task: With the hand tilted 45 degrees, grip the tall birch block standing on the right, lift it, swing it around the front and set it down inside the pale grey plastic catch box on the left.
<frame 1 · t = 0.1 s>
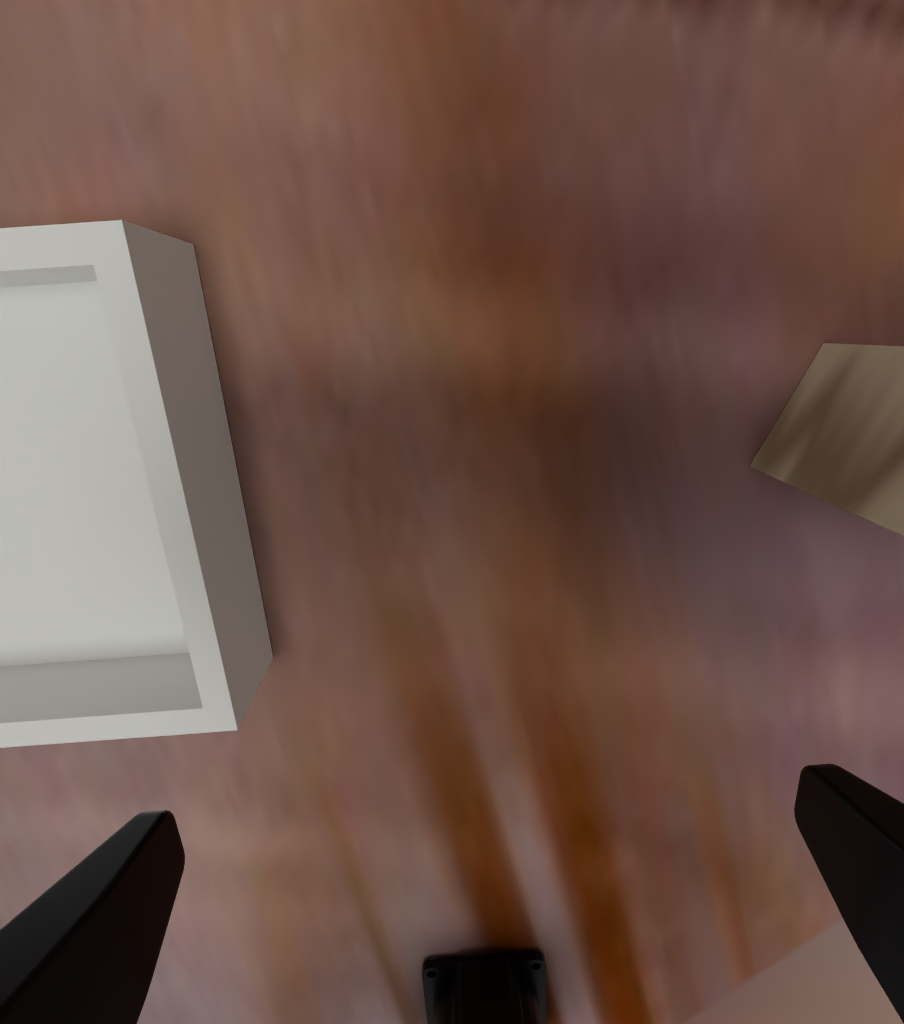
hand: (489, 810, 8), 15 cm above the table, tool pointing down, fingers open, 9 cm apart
birch block: (839, 432, 21), on the table
catch box: (27, 490, 21), on the table
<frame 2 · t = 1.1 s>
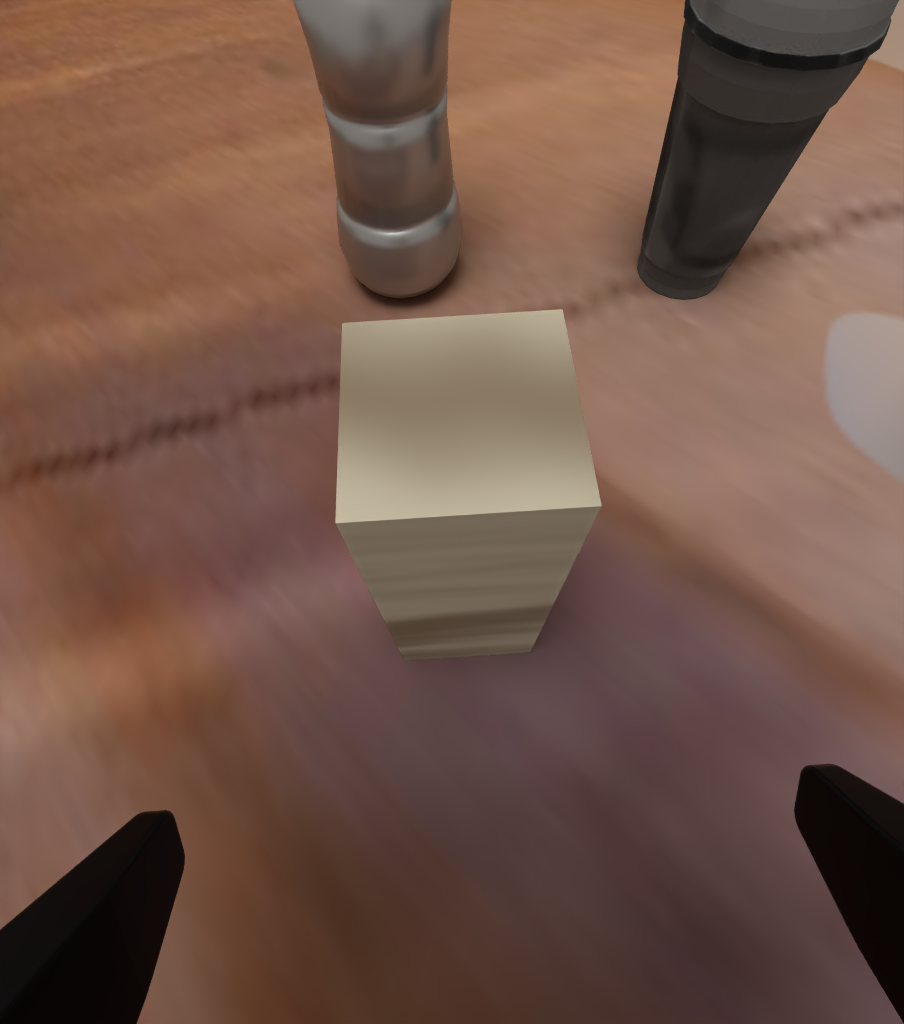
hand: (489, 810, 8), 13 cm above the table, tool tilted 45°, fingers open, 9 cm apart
plastic bottle: (405, 273, 32), on the table
beverage cup: (677, 272, 31), on the table
birch block: (463, 595, 23), on the table
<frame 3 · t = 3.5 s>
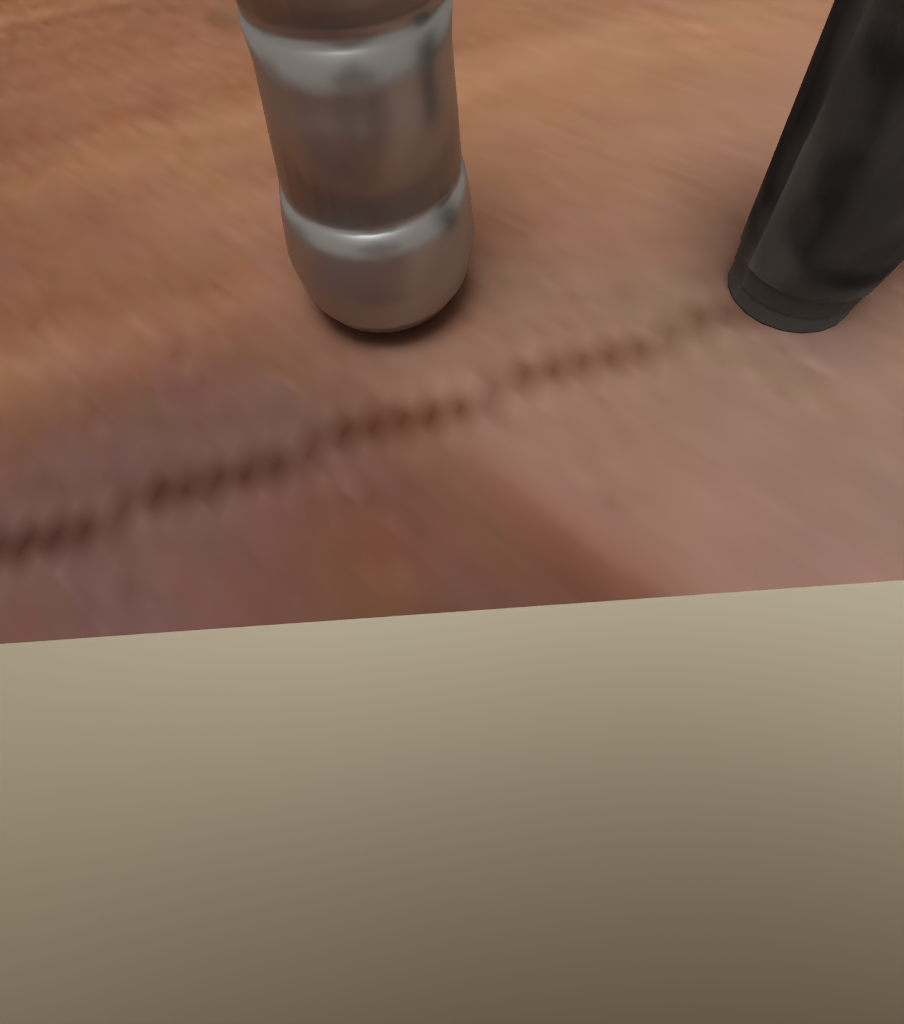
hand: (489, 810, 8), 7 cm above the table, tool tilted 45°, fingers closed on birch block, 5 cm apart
plastic bottle: (390, 294, 22), on the table
beverage cup: (785, 292, 22), on the table
birch block: (483, 867, 13), on the table, touching gripper
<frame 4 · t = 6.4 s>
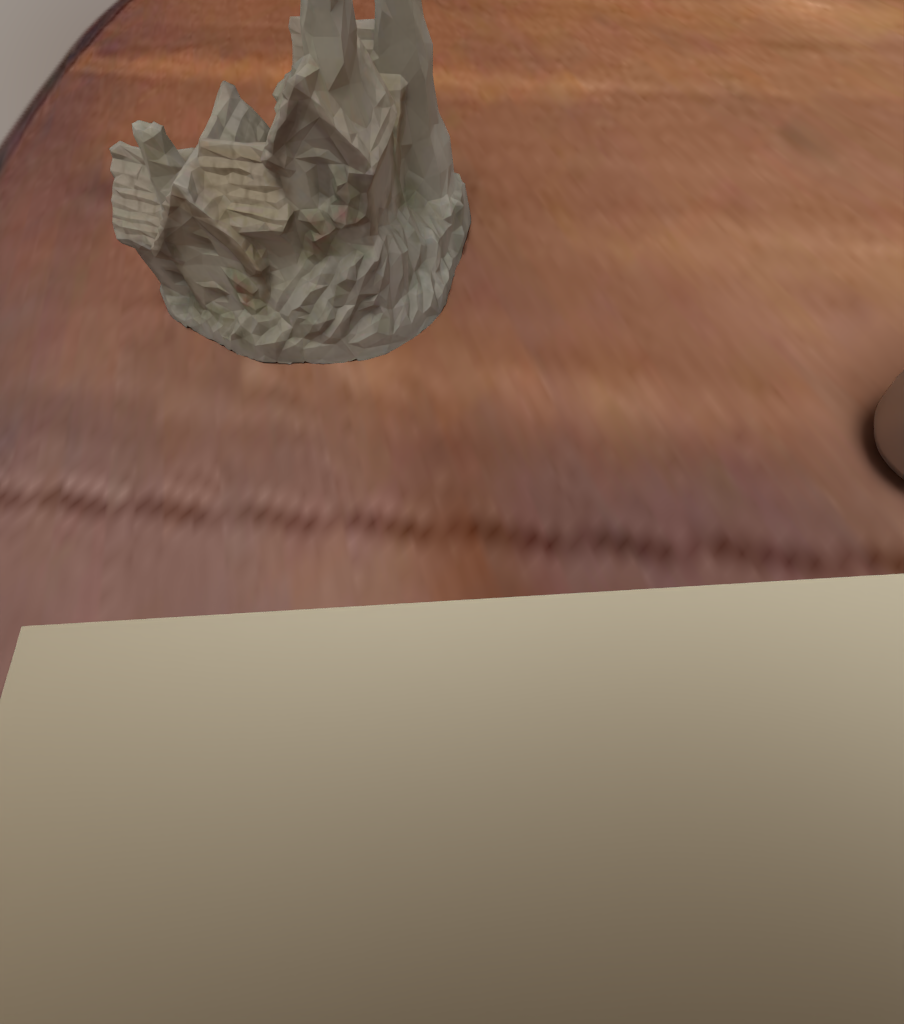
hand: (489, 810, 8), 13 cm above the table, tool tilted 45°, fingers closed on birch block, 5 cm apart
ceramic cottage: (328, 261, 33), on the table
birch block: (487, 864, 13), point 7 cm above the table, touching gripper
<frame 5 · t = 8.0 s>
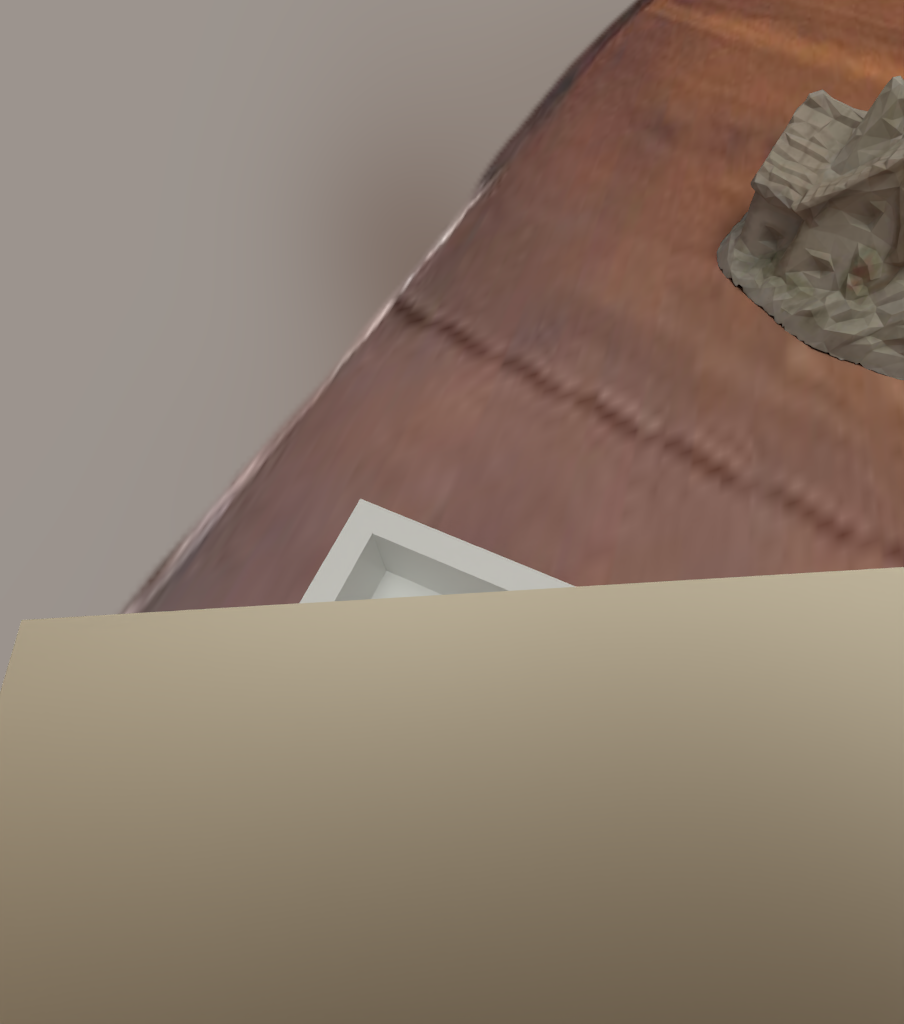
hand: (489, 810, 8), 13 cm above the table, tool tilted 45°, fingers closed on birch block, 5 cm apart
ceramic cottage: (889, 270, 30), on the table
birch block: (487, 862, 13), point 6 cm above the table, touching gripper
catch box: (477, 836, 19), on the table
when the fingers open (9 cm above the table, at t = 9.1 s): birch block drops 1 cm, resting on catch box.
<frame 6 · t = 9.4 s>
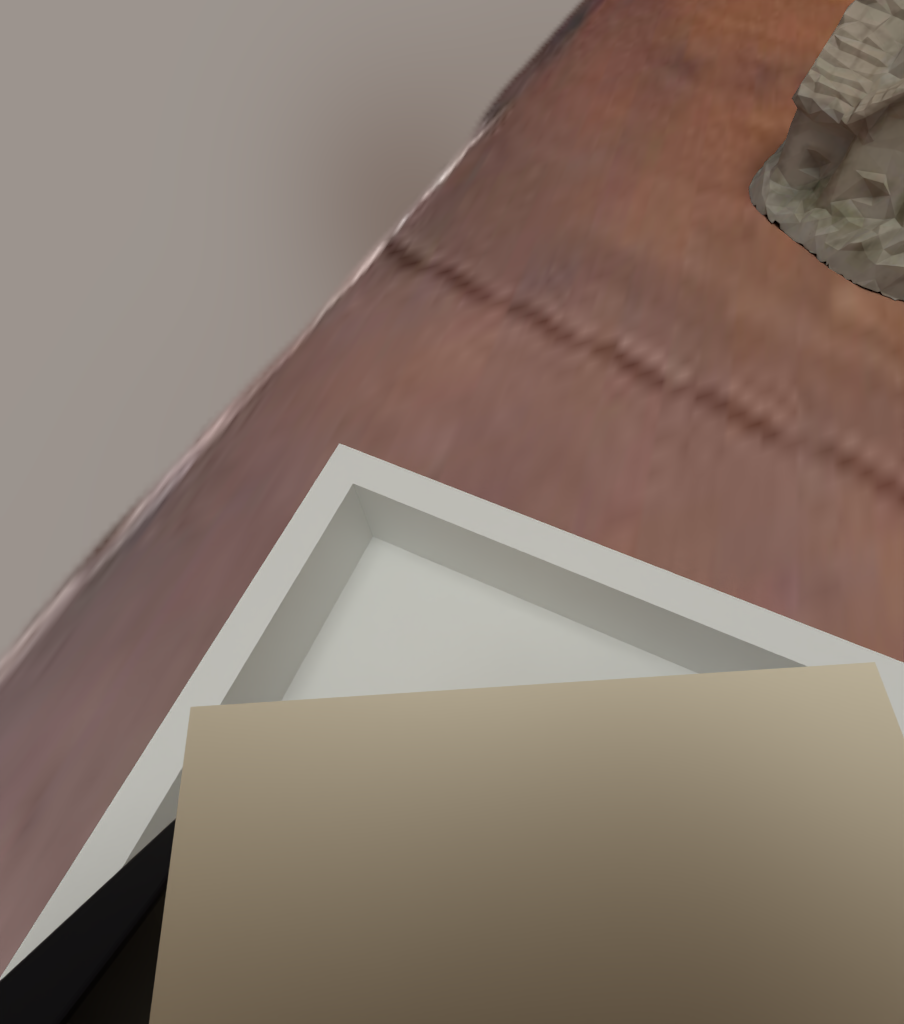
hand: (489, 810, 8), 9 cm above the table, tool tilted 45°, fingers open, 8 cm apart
birch block: (480, 858, 15), point 1 cm above the table, touching catch box
catch box: (481, 853, 16), on the table
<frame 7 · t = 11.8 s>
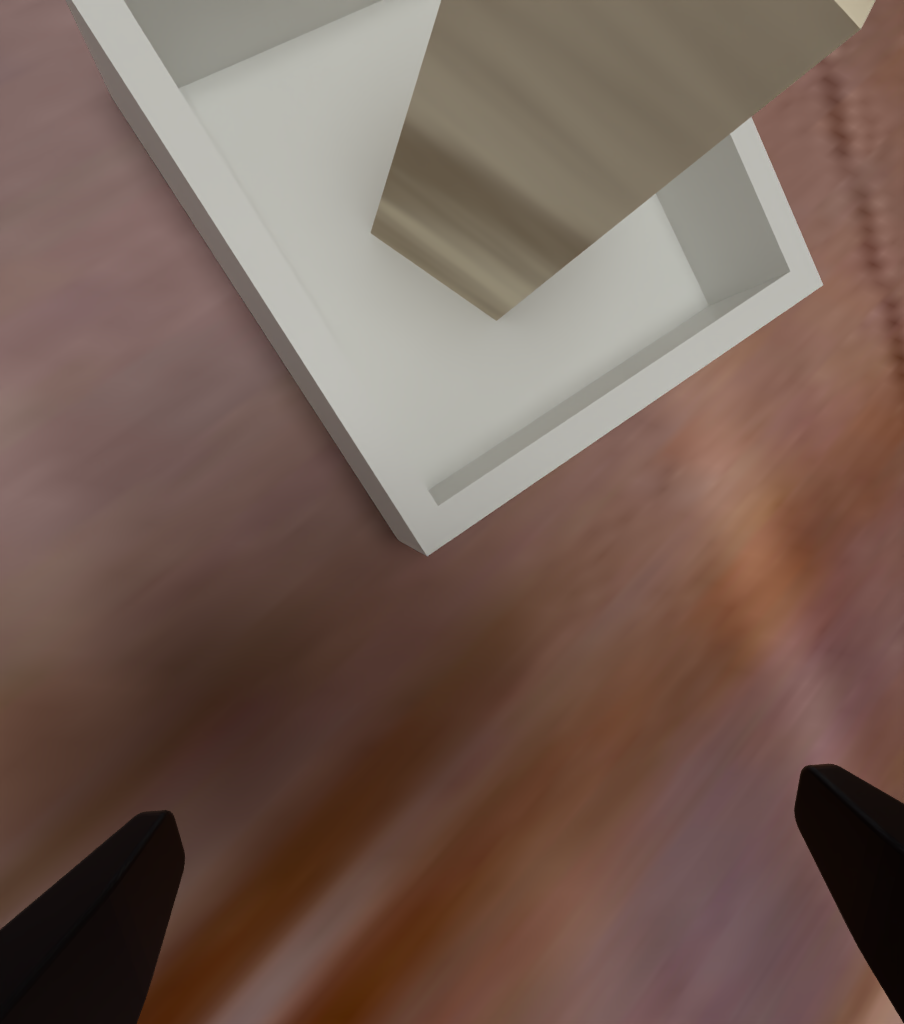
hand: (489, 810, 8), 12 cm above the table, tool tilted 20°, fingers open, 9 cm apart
birch block: (470, 216, 19), point 1 cm above the table, touching catch box
catch box: (465, 227, 20), on the table
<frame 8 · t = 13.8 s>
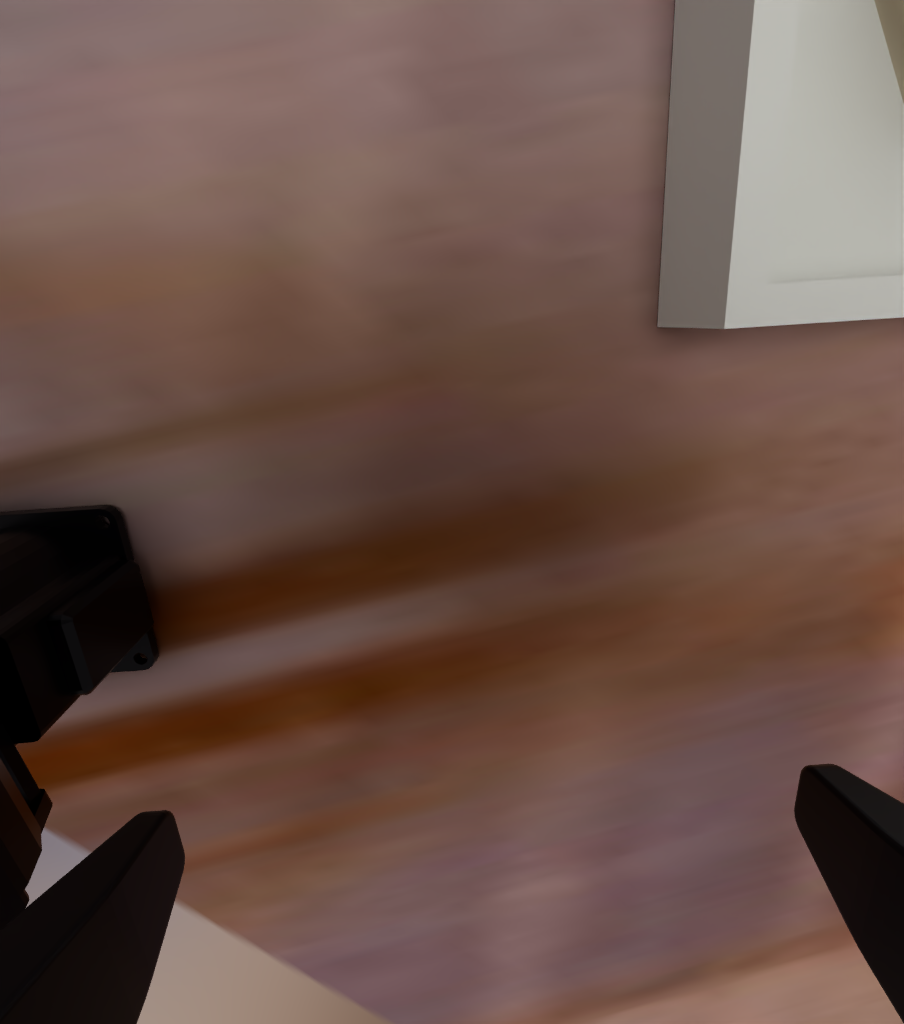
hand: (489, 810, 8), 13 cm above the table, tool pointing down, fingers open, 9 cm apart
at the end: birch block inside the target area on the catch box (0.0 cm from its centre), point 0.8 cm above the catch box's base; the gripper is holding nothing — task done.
